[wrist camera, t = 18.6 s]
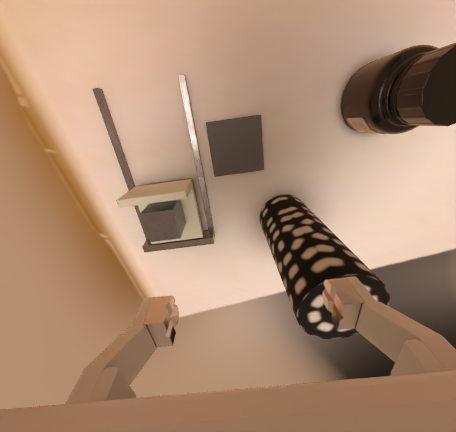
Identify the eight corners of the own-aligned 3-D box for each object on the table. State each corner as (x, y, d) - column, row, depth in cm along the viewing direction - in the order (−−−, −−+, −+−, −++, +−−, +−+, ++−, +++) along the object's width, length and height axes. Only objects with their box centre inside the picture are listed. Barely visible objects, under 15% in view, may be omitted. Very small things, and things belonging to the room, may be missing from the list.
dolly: (138, 183, 33) (116, 200, 26) (193, 176, 33) (184, 191, 26) (156, 235, 37) (140, 262, 30) (204, 229, 37) (199, 254, 30)
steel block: (151, 200, 31) (139, 214, 27) (179, 196, 31) (172, 209, 27) (159, 225, 33) (149, 242, 29) (186, 222, 33) (180, 238, 29)
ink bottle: (336, 138, 31) (398, 147, 20) (336, 71, 27) (412, 37, 16) (401, 123, 30) (502, 123, 19) (411, 51, 27) (541, 3, 16)
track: (95, 89, 27) (82, 86, 25) (185, 75, 27) (181, 70, 24) (149, 243, 38) (144, 252, 35) (214, 234, 38) (213, 243, 35)
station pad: (206, 122, 30) (206, 122, 29) (260, 114, 29) (260, 114, 29) (214, 175, 33) (214, 176, 33) (263, 169, 33) (263, 169, 32)
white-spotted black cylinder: (251, 226, 37) (279, 326, 19) (274, 187, 34) (334, 260, 16) (289, 242, 39) (348, 347, 21) (314, 205, 36) (410, 291, 18)
